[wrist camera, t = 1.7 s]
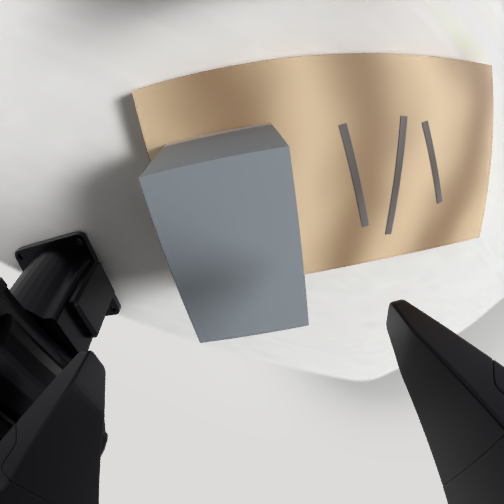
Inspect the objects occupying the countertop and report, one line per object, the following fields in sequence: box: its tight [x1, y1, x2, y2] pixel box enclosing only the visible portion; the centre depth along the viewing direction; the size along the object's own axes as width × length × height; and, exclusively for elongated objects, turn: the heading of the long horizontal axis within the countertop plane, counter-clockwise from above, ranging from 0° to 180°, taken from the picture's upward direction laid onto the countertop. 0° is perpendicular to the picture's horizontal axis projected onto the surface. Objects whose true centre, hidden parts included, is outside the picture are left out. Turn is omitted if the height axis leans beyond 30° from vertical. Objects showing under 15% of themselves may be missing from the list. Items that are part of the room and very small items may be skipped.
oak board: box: [132, 53, 493, 274], centre depth 16 cm, size 20×12×1 cm, turn 100°
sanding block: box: [138, 122, 309, 343], centre depth 14 cm, size 5×8×5 cm, turn 10°
